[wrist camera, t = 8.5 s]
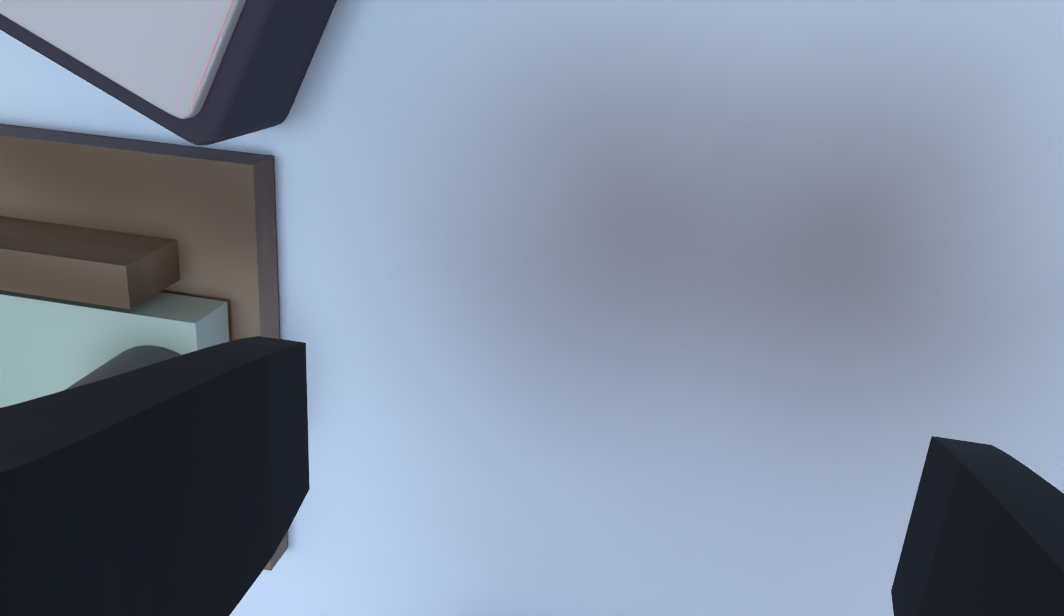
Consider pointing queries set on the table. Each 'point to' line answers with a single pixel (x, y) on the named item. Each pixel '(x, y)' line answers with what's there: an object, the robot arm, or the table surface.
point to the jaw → (96, 339)
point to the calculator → (181, 55)
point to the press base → (139, 225)
